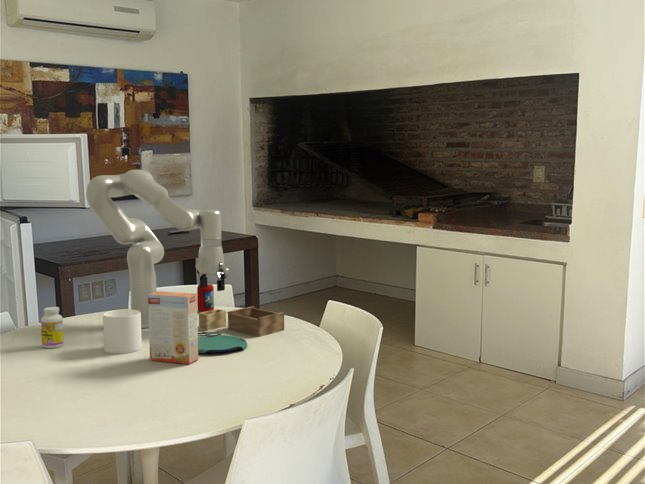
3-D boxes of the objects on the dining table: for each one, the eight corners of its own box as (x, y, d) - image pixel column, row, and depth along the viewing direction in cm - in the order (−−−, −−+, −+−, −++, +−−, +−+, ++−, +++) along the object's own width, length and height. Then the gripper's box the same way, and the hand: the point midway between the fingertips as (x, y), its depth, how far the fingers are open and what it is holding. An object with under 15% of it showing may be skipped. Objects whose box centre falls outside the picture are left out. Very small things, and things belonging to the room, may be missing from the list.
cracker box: (199, 359, 192) (198, 292, 190) (189, 365, 187) (187, 296, 184) (160, 355, 197) (158, 290, 195) (149, 360, 191) (147, 293, 189)
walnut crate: (259, 336, 219) (259, 318, 219) (227, 329, 230) (227, 311, 229) (284, 329, 229) (284, 312, 229) (252, 322, 240) (252, 306, 239)
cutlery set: (194, 359, 193) (194, 352, 193) (173, 338, 220) (173, 331, 220) (254, 352, 202) (254, 345, 202) (227, 332, 229) (227, 326, 228)
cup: (149, 346, 207) (148, 311, 205) (124, 355, 196) (123, 318, 195) (122, 342, 212) (120, 308, 210) (96, 351, 201) (95, 315, 200)
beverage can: (210, 313, 256) (209, 285, 255) (195, 313, 257) (194, 284, 256) (216, 310, 263) (216, 282, 261) (201, 309, 264) (200, 281, 263)
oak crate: (207, 331, 228) (207, 315, 227) (198, 328, 231) (198, 313, 231) (226, 326, 235) (226, 310, 234) (217, 324, 238) (217, 309, 238)
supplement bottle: (37, 347, 206) (35, 309, 204) (53, 342, 212) (52, 305, 210) (52, 349, 203) (50, 311, 201) (68, 344, 209) (66, 307, 207)
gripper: (188, 242, 232) (189, 288, 234) (219, 245, 221) (220, 293, 223) (203, 241, 238) (205, 285, 240) (234, 244, 227) (235, 290, 229)
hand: (212, 289), depth 232 cm, fingers open, 9 cm apart
